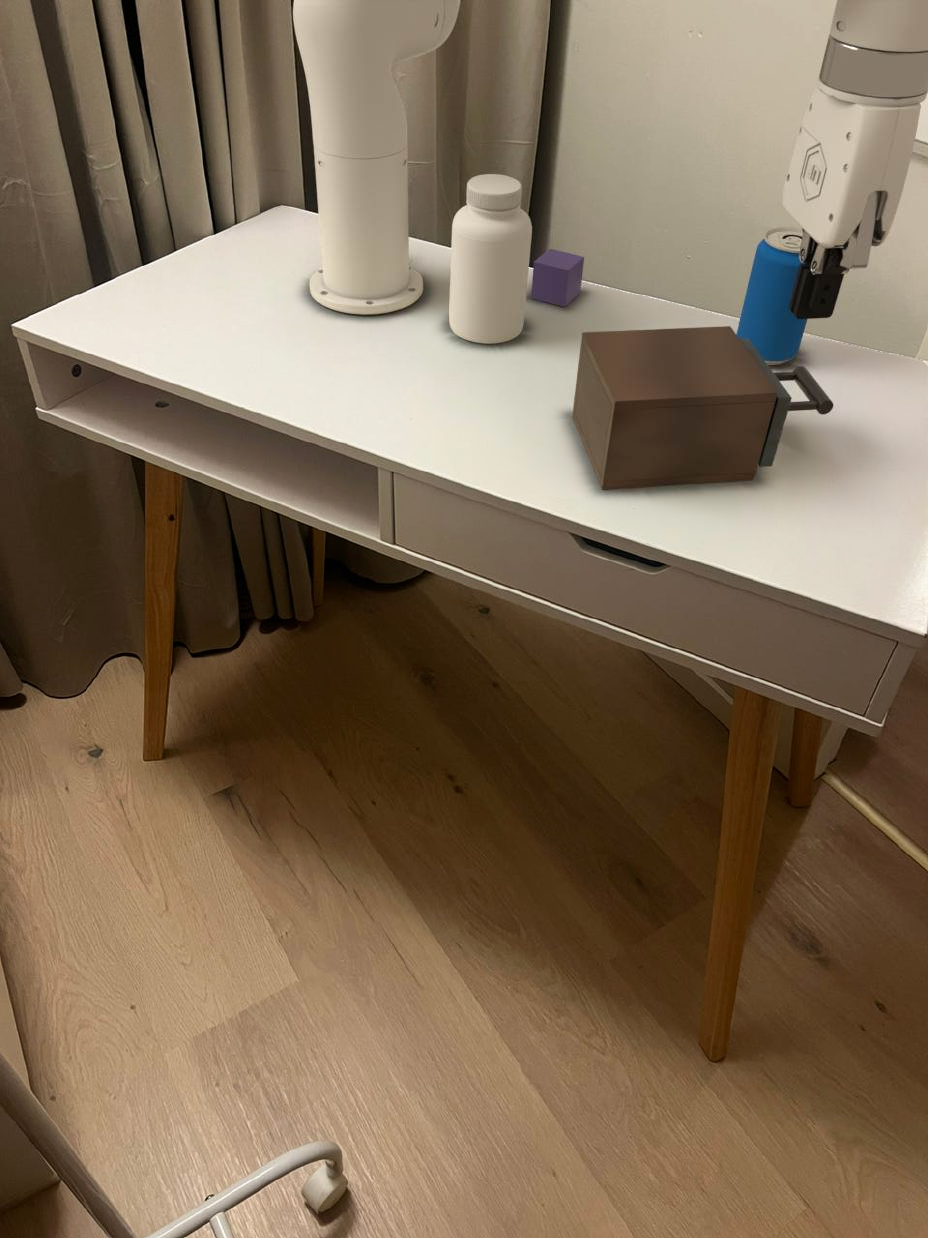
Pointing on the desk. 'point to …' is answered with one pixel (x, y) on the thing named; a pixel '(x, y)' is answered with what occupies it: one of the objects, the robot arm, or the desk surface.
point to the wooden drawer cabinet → (671, 406)
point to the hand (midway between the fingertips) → (809, 313)
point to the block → (557, 277)
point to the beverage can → (773, 297)
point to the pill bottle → (490, 261)
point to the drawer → (786, 401)
